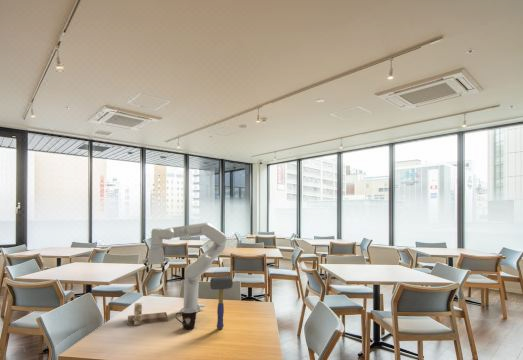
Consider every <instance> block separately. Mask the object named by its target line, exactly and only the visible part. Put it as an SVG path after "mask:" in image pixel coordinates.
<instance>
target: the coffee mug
mask: <svg viewBox="0 0 523 360" xmlns="http://www.w3.org/2000/svg"><path fill="white" fill-rule="evenodd" d="M197 313H198V312H197V310H196V309H191V308H190V309H184V310H182V312H176V314H175V319H176V320H177V321H178V322H180V323H181V324H182V329H183V330H184V331H193V330H194V329H195V325H196V319H197ZM178 314H180V315H181V317H182V321H181V320H180V319H179V318H178V317H177V315H178Z"/></svg>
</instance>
